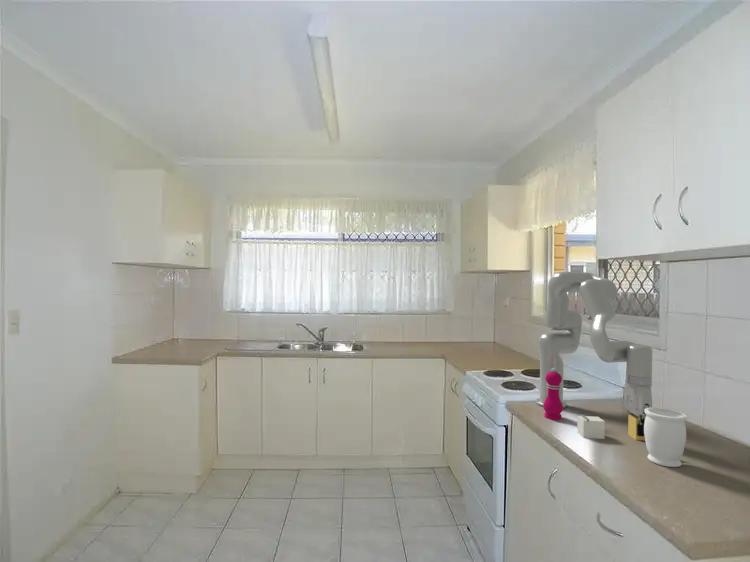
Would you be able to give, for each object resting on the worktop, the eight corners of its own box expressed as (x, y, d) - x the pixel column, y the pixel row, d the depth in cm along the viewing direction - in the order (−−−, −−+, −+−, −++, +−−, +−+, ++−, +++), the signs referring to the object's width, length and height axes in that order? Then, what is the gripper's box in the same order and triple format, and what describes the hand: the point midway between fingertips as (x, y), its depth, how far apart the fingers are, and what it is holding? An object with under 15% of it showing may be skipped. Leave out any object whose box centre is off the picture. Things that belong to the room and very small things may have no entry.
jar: (637, 459, 130) (638, 410, 130) (651, 452, 136) (652, 405, 136) (678, 472, 122) (679, 420, 122) (690, 463, 128) (691, 413, 128)
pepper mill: (560, 423, 163) (561, 370, 163) (540, 419, 168) (541, 368, 168) (564, 418, 169) (565, 367, 169) (545, 414, 173) (546, 365, 173)
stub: (628, 434, 150) (628, 414, 150) (639, 435, 150) (640, 415, 150) (635, 439, 145) (636, 419, 145) (647, 440, 145) (648, 419, 145)
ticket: (577, 432, 152) (577, 414, 152) (597, 433, 151) (598, 415, 151) (583, 438, 147) (583, 419, 147) (604, 438, 146) (604, 419, 146)
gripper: (615, 374, 157) (614, 424, 157) (641, 386, 140) (640, 441, 140) (636, 375, 156) (636, 425, 156) (665, 387, 139) (664, 442, 139)
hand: (637, 432), depth 148 cm, fingers closed on stub, 5 cm apart
